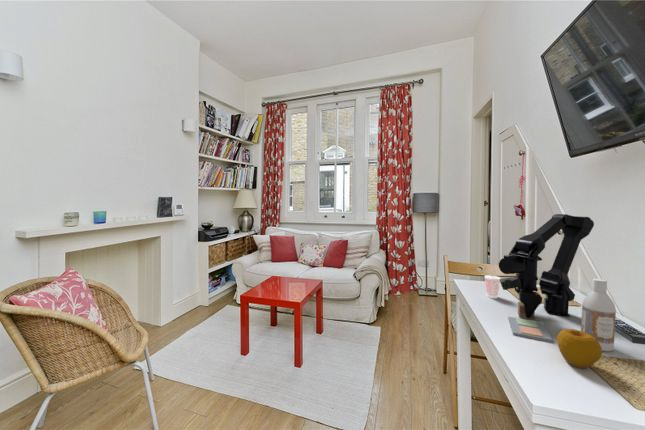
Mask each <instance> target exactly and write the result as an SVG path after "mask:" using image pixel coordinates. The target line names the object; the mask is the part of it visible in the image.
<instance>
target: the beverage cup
mask: <svg viewBox="0 0 645 430" xmlns="http://www.w3.org/2000/svg"><path fill="white" fill-rule="evenodd" d="M483 277H484V280H485V281H484V282H485V283H484V284H485V286H484V287H485V296H486V297H488V298H490V299H497V298H499V290H500V279H501V277H500V276H497V275H494V265H492V266H491V275H489V274H488V275H484V276H483Z"/></svg>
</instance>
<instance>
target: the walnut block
mask: <svg viewBox="0 0 645 430" xmlns="http://www.w3.org/2000/svg"><path fill="white" fill-rule="evenodd" d="M535 313H536V310H535V311H534V313H533V314H532V316H531V317H530V318H526V314H525V309H524V304H523V303H522V302H521V301H518V302H517V315H518V318H520V319H526V320H532V321H535V315H536V314H535Z"/></svg>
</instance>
